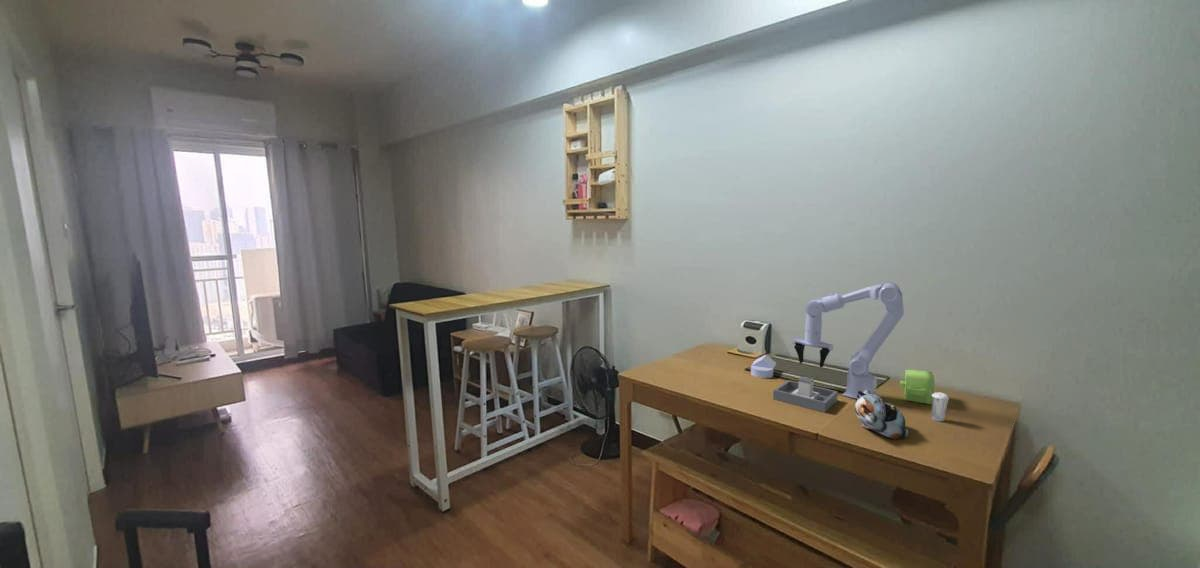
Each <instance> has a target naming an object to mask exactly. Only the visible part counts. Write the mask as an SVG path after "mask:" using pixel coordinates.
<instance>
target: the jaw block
mask: <svg viewBox="0 0 1200 568" xmlns="http://www.w3.org/2000/svg"><path fill="white" fill-rule="evenodd" d="M814 380H815V379H814V378H812V377H808V376H801V377H799V378H798V381H797V382H799V383H798V395H802V396H806V397H810V398H811V397H812V396H813V386H815V385H814V383H815V381H814Z"/></svg>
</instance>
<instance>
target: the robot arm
mask: <svg viewBox="0 0 1200 568" xmlns="http://www.w3.org/2000/svg"><path fill="white" fill-rule="evenodd" d="M878 298H879V300H880V301H881V302H882V303H883V304H884V307H885V309H886V313H885V314H884V315H883V317H882V319H881V320H880V321H879V323H878V325H877V326H875V329H874V330H873V332H872V333H871V334H870V335H869V337H868V338H867V339H866V341H865V343H864V344H863V345H862V347H860V349H859V350H858V351H857V352H855V353H853V354H851V357H850V361H849V362H848V369H847V373H846V374H847V375H846V376H847V378H846V388H845V389H846V390H845V391H844V392H843V393H842V396H844V397H847V398H851V399H852V398H853V399H857V395H858V391H861V392H863V393H864V391H865V390H869V391H870V393H871V394H874V395H877V384H878V383H877V382H878V379H877V376H876V375H872V374H871V371H870V370H869V365H870V363H871V362H872V361H873V358H874V357H875V355H876V354H877V352H878V351H879V349H880V348H881V346H882V345H883V344H884V343H885V341H886V340H887V339H888V337H889V336H890V334H891V333H892V332H893V330H894V329H895V327H896V326H897V325H898V323H899V322H900V321H901V319H902V318H903V316H904V314H905V312H904V311H905V309H904V302H903V293H902V291H901V288H900V287H899V285H898V284H896V283H895V282H884V283H880V284H874V285H871V286H870V285H869V286H867V287H863V288H861V289H857V290H855V291H852V292H848V293H845V294H840V293H834V292H832V293H829V295H827V296H824V297H820V296H819V297H817V298H816V299H812V300H810V301H809V302H808V303H806V306H805V313H806V314H805V327H804V338H797V337H796V338H792V344H793V345H794V347H793V348H794V349H795V352H796V354H797V358H798V361H799V364H802V363H804V352H805V346H806V347H812V348H816V349H817V348H818V349H820V350H819V357H820V358H819V368H823V367H824V365H825V362H826V359H827V356H828V355H829V353H830V352H831V351H833V350H834V344H832V343H827V342H825V341H824V342H823V341H822V327H823V325H822V324H823V319H822V318H823V317H822V315H823V314H822V313H824V314H825V313H826V314H827V313H828V312H832V311H836V310H839V309H843V308H844V307H845V305H846V304H849V303H852V302H856V301H860V300H864V299H873V300H876V301H878Z"/></svg>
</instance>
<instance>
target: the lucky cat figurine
mask: <svg viewBox="0 0 1200 568" xmlns="http://www.w3.org/2000/svg"><path fill="white" fill-rule="evenodd" d="M854 407H855V409H854V410H855V411H854V412H855V415H856V416H857V418H858V419H859V420H860V422H861V425H862V427H863V428H865V429H868V430H869V429H870V430H872V431H874V432H876V433H878V434H880V435H882V436H884V437H887V438H889V439H891V440H894V441H895V440H901V439H904V438H907V437H908V436H909V429H908V428H907V427H906V418H905V416H904V415H903V412H901V411H900V410H899V409H898V408H897V407H896V406H895V405H894V404H891V403H887V402H884V401H883V398H882V397H881V396H880V395H878V394H876V395H874V394H871V393H870V391H869V390H865V391H864V393H863V392H861V391H858V395H857V401H856V402H855V404H854Z"/></svg>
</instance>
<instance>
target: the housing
mask: <svg viewBox="0 0 1200 568" xmlns="http://www.w3.org/2000/svg"><path fill="white" fill-rule="evenodd" d="M798 383H799V381H793V380H790V379H789V380H788V379H787V380H786V381H785V382H784V383H782V384H781V385H779V386H777V387H776V388H774V389H773V394H772V395H773V396H772V397H773V400H775V401H779V402H783V403H785V404H786V403H788V404H791V405H794V406H799V407H801V408H805V409H809V410H812V411H817V412H821V413H824V414H825V413H826V412H827V411H829V409H830V408H831V407H832V406H833V405H834V404H835V403H836V402H837V401H838V395H839V393H838V391H837V390H832V389H829V388H823V387H821V386H820V387H819V386H815V385H813V396H812V397H811V398H810V397H806V396H802V395H798Z"/></svg>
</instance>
